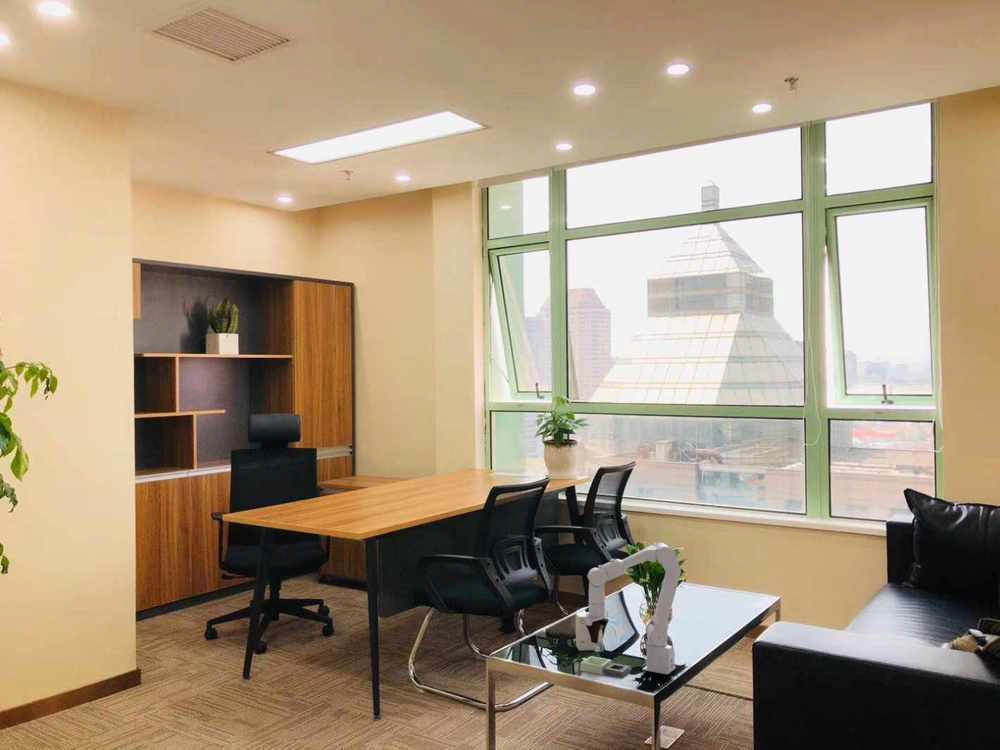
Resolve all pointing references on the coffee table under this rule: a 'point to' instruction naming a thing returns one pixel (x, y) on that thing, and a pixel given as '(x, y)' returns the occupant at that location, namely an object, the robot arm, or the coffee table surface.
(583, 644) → the small box
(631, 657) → the coffee table surface
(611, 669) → the block
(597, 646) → the lock pin
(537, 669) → the coffee table surface
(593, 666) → the tray
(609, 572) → the robot arm
